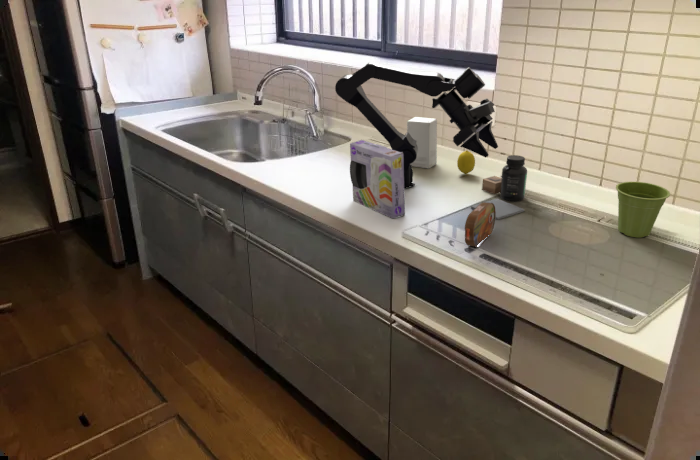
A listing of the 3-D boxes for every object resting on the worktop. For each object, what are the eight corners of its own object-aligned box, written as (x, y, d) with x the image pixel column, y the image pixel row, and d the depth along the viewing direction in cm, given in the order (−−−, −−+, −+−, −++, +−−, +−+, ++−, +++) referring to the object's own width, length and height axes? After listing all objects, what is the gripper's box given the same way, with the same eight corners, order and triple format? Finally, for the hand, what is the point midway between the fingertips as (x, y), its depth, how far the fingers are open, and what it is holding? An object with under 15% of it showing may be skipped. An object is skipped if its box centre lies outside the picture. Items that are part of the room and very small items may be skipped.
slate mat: (497, 219, 154) (497, 217, 153) (470, 208, 161) (471, 206, 161) (524, 211, 158) (524, 209, 158) (496, 200, 166) (497, 198, 166)
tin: (473, 252, 136) (476, 219, 133) (461, 250, 138) (463, 217, 134) (495, 229, 148) (498, 198, 144) (483, 227, 149) (486, 196, 146)
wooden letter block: (494, 194, 171) (495, 183, 169) (481, 190, 175) (482, 178, 173) (506, 191, 173) (507, 179, 172) (493, 186, 177) (494, 175, 176)
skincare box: (437, 164, 198) (438, 118, 191) (428, 169, 193) (430, 122, 186) (414, 160, 202) (415, 115, 195) (405, 165, 197) (406, 120, 190)
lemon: (474, 177, 184) (475, 153, 181) (456, 177, 185) (457, 152, 182) (474, 172, 189) (476, 148, 186) (456, 171, 190) (458, 147, 187)
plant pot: (620, 243, 139) (628, 199, 135) (600, 223, 150) (607, 181, 146) (670, 242, 139) (680, 198, 135) (647, 222, 150) (655, 180, 146)
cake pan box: (349, 200, 169) (347, 140, 161) (363, 196, 171) (362, 137, 164) (391, 220, 154) (392, 156, 147) (405, 216, 157) (407, 152, 150)
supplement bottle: (529, 198, 167) (534, 158, 162) (512, 203, 164) (516, 162, 159) (511, 192, 172) (515, 152, 167) (494, 196, 169) (498, 156, 164)
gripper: (466, 97, 154) (504, 143, 153) (487, 85, 169) (522, 126, 168) (437, 124, 161) (473, 167, 160) (460, 110, 175) (493, 150, 175)
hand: (492, 152), depth 166 cm, fingers open, 9 cm apart
